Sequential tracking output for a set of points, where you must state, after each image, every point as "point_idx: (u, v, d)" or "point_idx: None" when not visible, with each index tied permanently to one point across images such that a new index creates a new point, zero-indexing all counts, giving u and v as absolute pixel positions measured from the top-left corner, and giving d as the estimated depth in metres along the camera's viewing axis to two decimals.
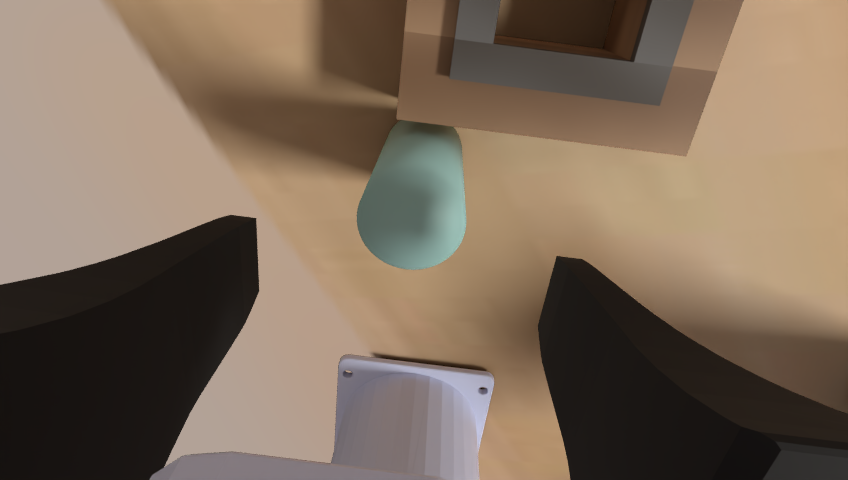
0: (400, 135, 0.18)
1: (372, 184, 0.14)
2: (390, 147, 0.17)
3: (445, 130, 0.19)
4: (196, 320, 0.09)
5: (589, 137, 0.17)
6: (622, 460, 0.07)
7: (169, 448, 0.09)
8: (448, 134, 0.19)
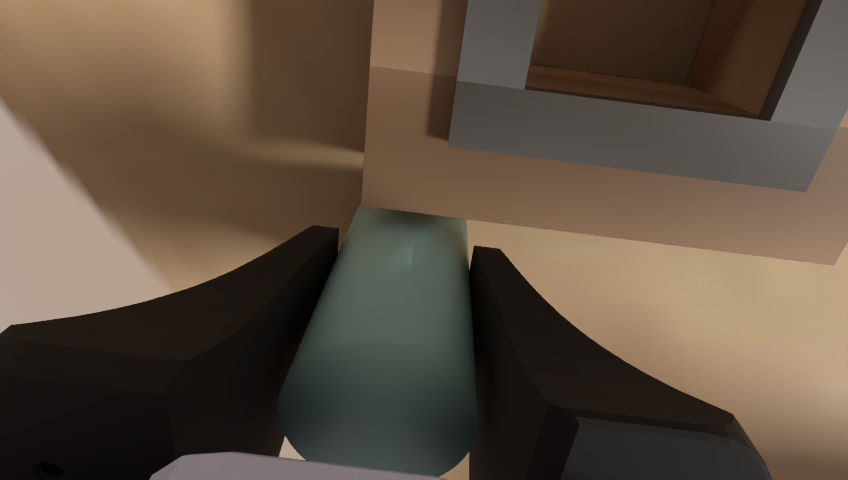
0: (369, 227, 0.11)
1: (302, 362, 0.08)
2: (350, 254, 0.10)
3: None
4: (298, 333, 0.09)
5: (677, 235, 0.10)
6: (493, 444, 0.07)
7: None
8: (446, 218, 0.12)
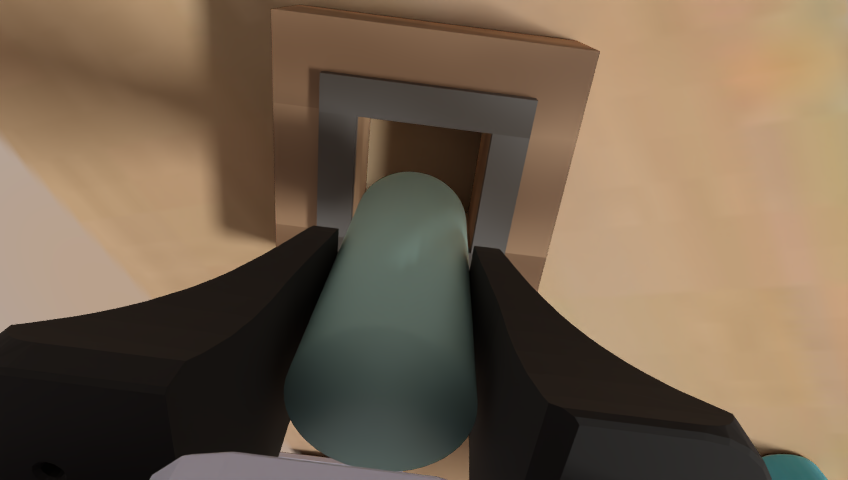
0: (375, 219, 0.11)
1: (312, 344, 0.08)
2: (356, 244, 0.10)
3: (445, 207, 0.13)
4: (298, 333, 0.09)
5: None
6: (493, 444, 0.07)
7: None
8: (449, 214, 0.12)
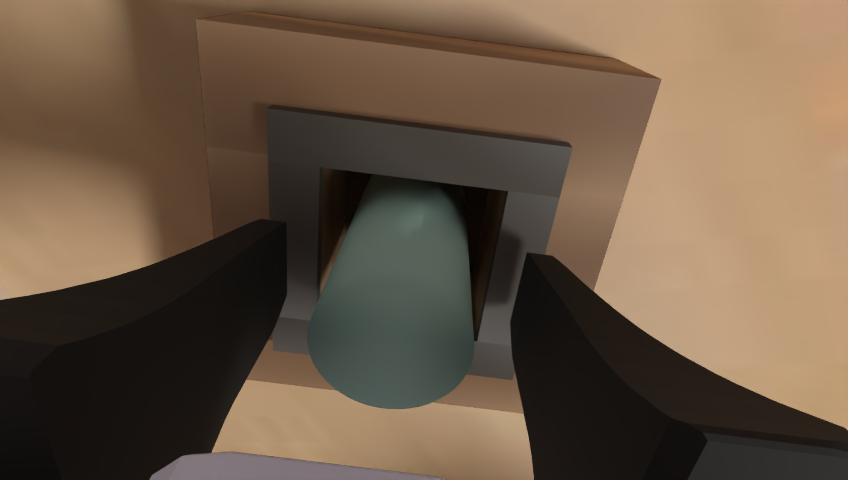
0: (383, 194, 0.13)
1: (332, 292, 0.09)
2: (367, 214, 0.12)
3: (446, 185, 0.14)
4: (233, 325, 0.09)
5: (442, 398, 0.15)
6: (575, 454, 0.07)
7: None
8: (450, 192, 0.14)
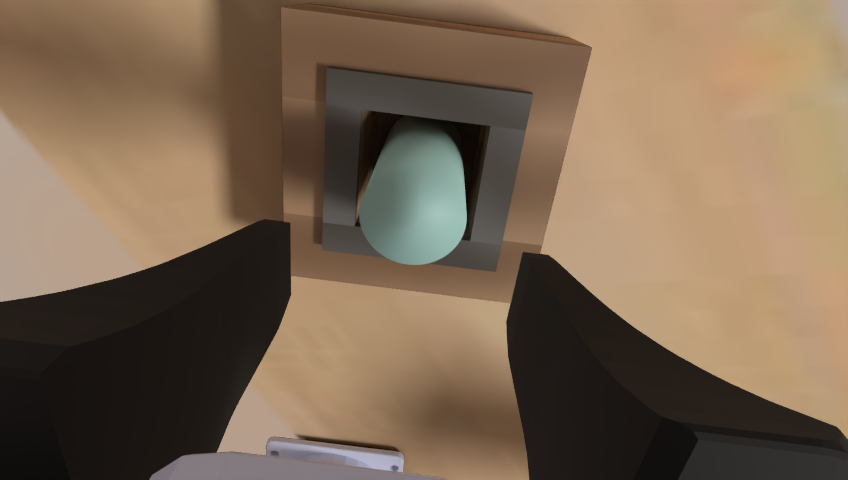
0: (404, 131, 0.18)
1: (377, 179, 0.14)
2: (394, 143, 0.17)
3: (447, 129, 0.19)
4: (238, 325, 0.09)
5: (445, 290, 0.21)
6: (569, 453, 0.07)
7: None
8: (450, 133, 0.19)
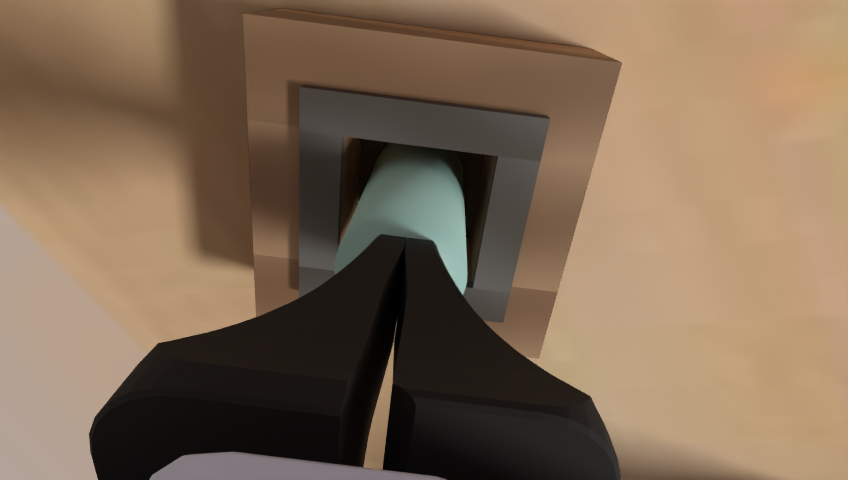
0: (393, 161, 0.15)
1: (355, 227, 0.12)
2: (381, 176, 0.14)
3: (446, 156, 0.16)
4: (381, 343, 0.09)
5: None
6: None
7: None
8: (449, 161, 0.16)
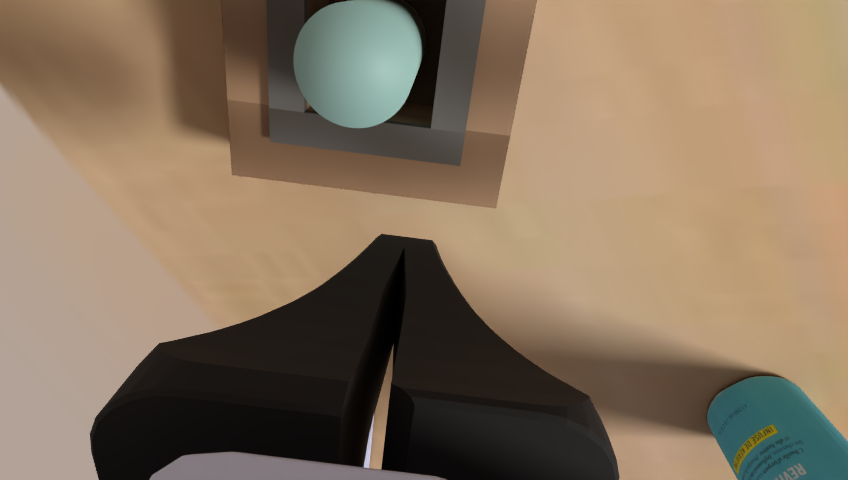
0: None
1: (311, 17, 0.13)
2: None
3: (406, 7, 0.18)
4: (381, 343, 0.09)
5: (406, 191, 0.19)
6: None
7: None
8: (409, 11, 0.17)
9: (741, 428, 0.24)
